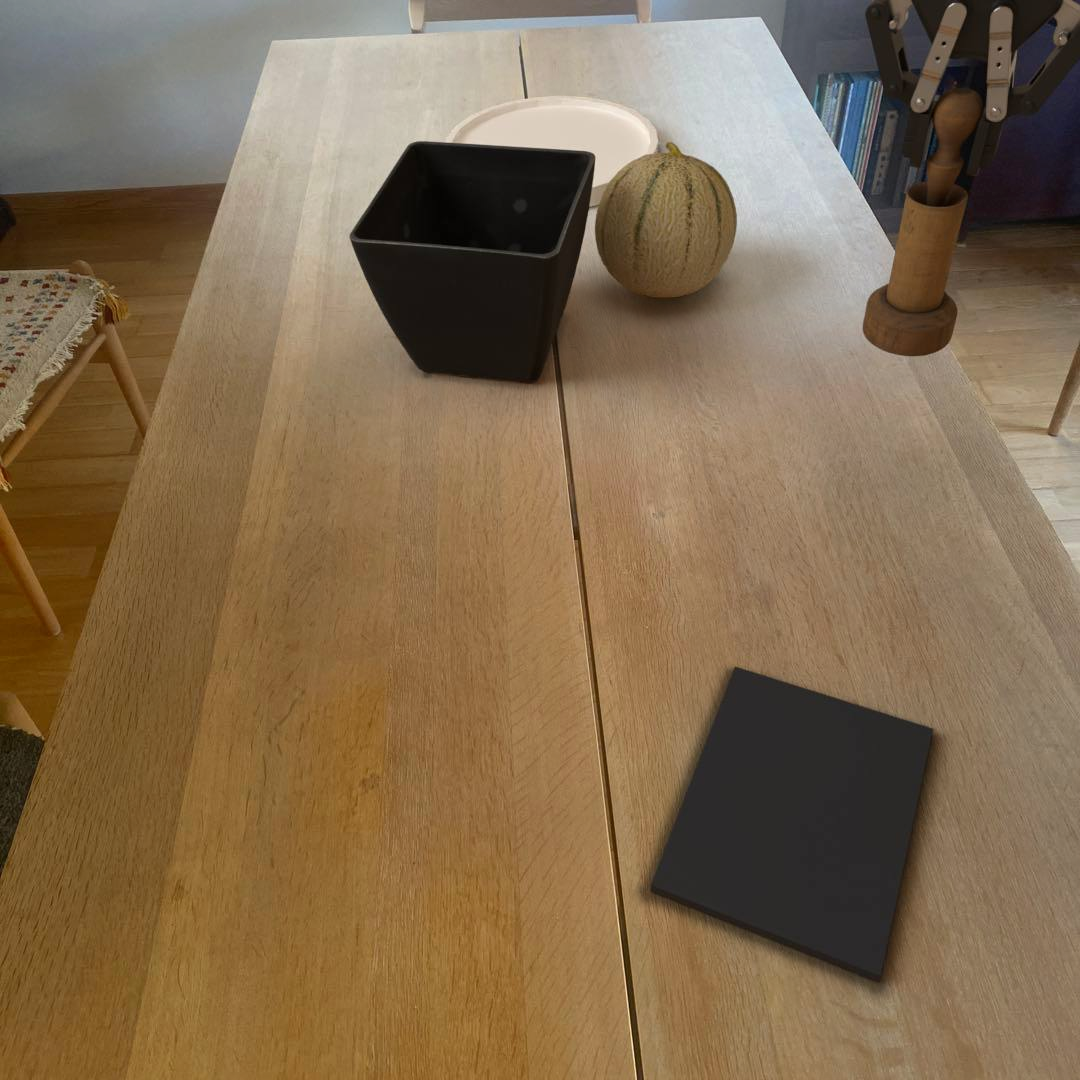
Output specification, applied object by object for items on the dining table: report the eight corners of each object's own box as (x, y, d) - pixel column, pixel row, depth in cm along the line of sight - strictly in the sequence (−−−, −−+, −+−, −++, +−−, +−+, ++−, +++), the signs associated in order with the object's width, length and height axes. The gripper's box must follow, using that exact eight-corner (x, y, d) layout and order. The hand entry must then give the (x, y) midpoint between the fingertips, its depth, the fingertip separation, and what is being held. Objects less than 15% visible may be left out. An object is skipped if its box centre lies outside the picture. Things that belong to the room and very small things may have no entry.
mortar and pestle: (847, 315, 78) (890, 78, 65) (925, 301, 78) (983, 64, 65) (885, 364, 73) (940, 119, 60) (967, 348, 74) (1039, 103, 61)
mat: (930, 736, 69) (933, 728, 68) (877, 982, 58) (881, 976, 57) (733, 674, 73) (734, 665, 73) (650, 891, 62) (650, 884, 62)
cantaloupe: (609, 334, 104) (609, 199, 93) (584, 261, 114) (581, 131, 103) (748, 316, 105) (764, 180, 94) (710, 245, 115) (721, 115, 104)
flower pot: (563, 410, 95) (556, 252, 83) (376, 391, 99) (344, 237, 87) (598, 300, 108) (597, 149, 96) (432, 287, 112) (410, 140, 99)
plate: (407, 193, 127) (405, 174, 125) (498, 103, 144) (496, 86, 143) (615, 227, 119) (615, 207, 117) (684, 127, 136) (685, 109, 134)
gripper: (870, -128, 54) (825, 176, 66) (1158, -116, 49) (1051, 210, 62) (899, -161, 59) (852, 129, 71) (1166, -153, 54) (1065, 157, 66)
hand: (945, 165), depth 66 cm, fingers closed on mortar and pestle, 3 cm apart
